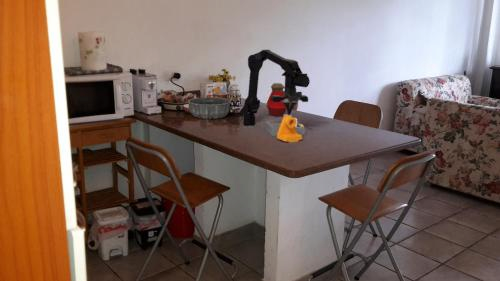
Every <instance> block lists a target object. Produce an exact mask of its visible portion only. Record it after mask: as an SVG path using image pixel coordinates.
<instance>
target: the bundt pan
mask: <svg viewBox="0 0 500 281" xmlns="http://www.w3.org/2000/svg"><path fill="white" fill-rule="evenodd" d="M231 102H232V100H230V99H229V98H225V97H224V98H223V97H216V96H215V97H213V96H212V97H210V96H209V97H195V98H190V99H188V101H187V103H188V107H189V108H188V109H189V113H190V114H191V115H192V116H193V117H195V118H198V119H204V120H206V119H209V120H212V119H222V118H224V117H226V116H228V114H229V112H230V108H231Z"/></svg>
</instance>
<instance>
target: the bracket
mask: <svg viewBox="0 0 500 281" xmlns="http://www.w3.org/2000/svg"><path fill="white" fill-rule="evenodd" d="M295 118H296V117H293V116H292V117H291V116H285V117H284V118H283V117H282V120H281V121H282V122H281V125H280V128H279V131H278V133H277V136H276V139H278V140H280V141H283V142H287V143H297V142H299V141H300V140H303V135H300V134H297V131H296V127H295V125H296V119H297V118H296V119H295Z"/></svg>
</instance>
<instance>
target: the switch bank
mask: <svg viewBox="0 0 500 281" xmlns="http://www.w3.org/2000/svg"><path fill="white" fill-rule="evenodd" d="M281 122H282V120H264V122H263V123H264V124H263V128H264V130H265V131H267V133H268V134H270V136H272V137H273V136H274V137H275V136H276V137H277V133H278V131H279V128H280V125H281ZM296 131H297V134H300V135H302V136H306V127H305V126H304V125H303V124H301V123H300V122H299V121H298V120H297V127H296Z"/></svg>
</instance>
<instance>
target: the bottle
mask: <svg viewBox="0 0 500 281" xmlns="http://www.w3.org/2000/svg"><path fill="white" fill-rule="evenodd" d="M284 86H285V85H284V84H282V83H280V82H273V84H271V86H270V88H271V93H270V94H269V95H270V96H269V99H268V101H267V104H266V107H267V110H268V112H269V115H270V116H271V117H277V118H281V117H283V114H285V113H286V112H287V110H286V107H285V105H284V103H282V100H281V101H280V102H273V101H271V96H272V95H279V96H281V97H284V90H285V89H284Z"/></svg>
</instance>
